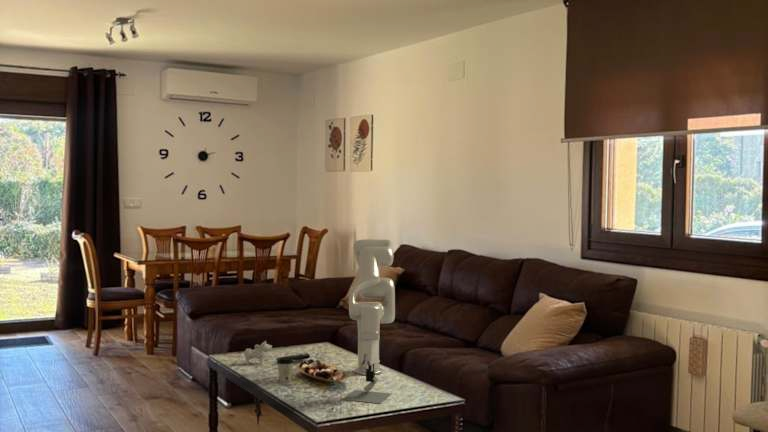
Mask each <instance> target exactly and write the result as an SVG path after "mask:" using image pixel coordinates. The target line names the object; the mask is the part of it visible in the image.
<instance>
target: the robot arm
mask: <svg viewBox="0 0 768 432" xmlns="http://www.w3.org/2000/svg"><path fill="white" fill-rule="evenodd" d="M352 249H353V250H352V251H353V255H354V258H355V260H356V262H357V263H356V264H357V265H358V281H357V282H356V283H355V284H354V285H353V286H352V288H351V291H350V293H349V298H348V299H349V300H348V314H349V318H350V319H351V320H353V321H356V323H357V367H355V368H354V373H355V374H357V375H361V376H362V375H363V376H365V381H366V382H369V383H370V382H373V381H374V379H373V378H374V377H376V375H379V374H382V373H383V368H382V367H380V362H381V360H380V337H381V336H380V335H381V334H380V333H381V331H380V328H381V327H380V325H381V324H392V323H393V322H394V321H395V319H396V292H395V291H396V290H395V289H396V287H395V283H394V280H393V279H392V278H389V277H380V276H381V275H380V267H390V266H392V265H393V263H394V256H395V255H394V245H393V242H392V241H391V240H390V239H371V238H370V239H368V238H367V239H364V238H363V239H358V240H355V241H354V243H353V245H352ZM358 295H359V296H360V298H362V299H363V300H364V299H366V300H384V301H356V300H357V299H356V298H357V297H358ZM372 379H373V380H372Z"/></svg>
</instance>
